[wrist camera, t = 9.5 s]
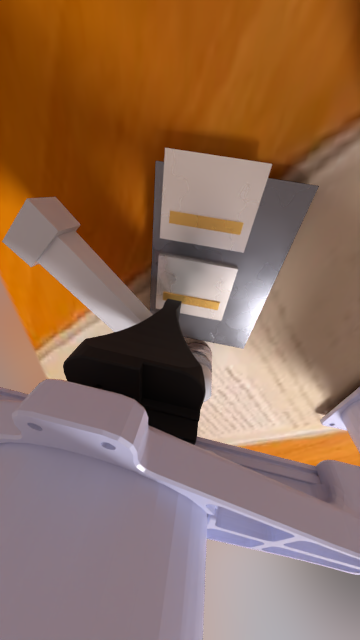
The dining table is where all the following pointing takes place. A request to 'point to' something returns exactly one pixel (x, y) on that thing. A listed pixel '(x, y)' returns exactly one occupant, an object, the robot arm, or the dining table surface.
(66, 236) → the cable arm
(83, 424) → the robot arm
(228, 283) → the grey flat block
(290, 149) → the dining table surface
